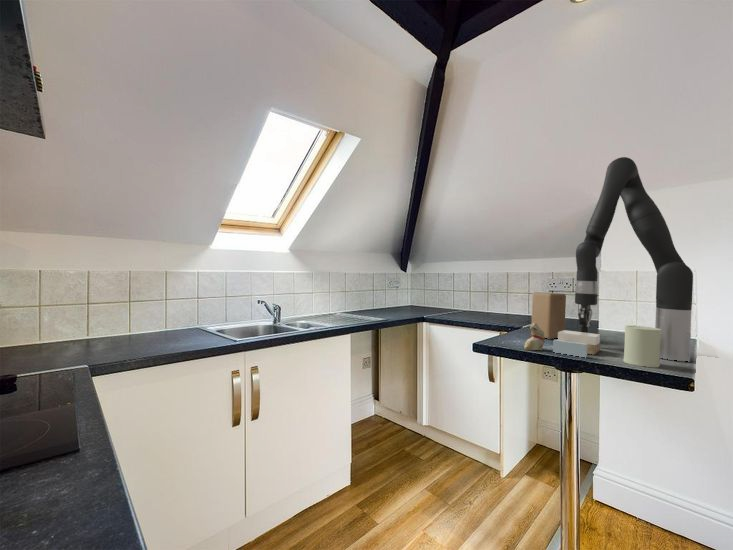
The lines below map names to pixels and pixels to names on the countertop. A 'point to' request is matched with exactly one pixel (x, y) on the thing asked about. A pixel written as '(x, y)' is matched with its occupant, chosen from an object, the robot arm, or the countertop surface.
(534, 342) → the chocolate bunny
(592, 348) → the roller
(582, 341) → the slab
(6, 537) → the countertop surface
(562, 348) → the rail
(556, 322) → the wooden block
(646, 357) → the can
